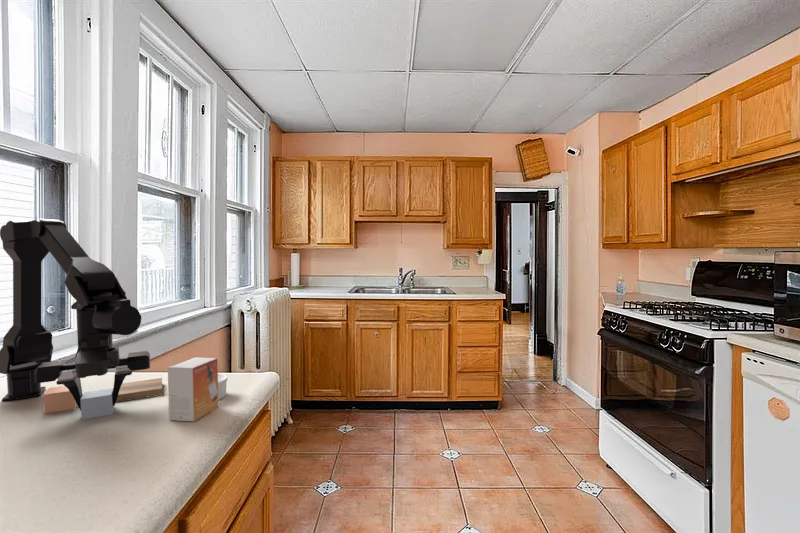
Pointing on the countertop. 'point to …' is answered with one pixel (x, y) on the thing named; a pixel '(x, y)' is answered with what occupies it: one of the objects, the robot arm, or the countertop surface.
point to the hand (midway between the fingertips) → (98, 407)
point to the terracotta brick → (58, 399)
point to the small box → (192, 389)
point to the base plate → (140, 389)
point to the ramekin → (222, 385)
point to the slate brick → (97, 403)
